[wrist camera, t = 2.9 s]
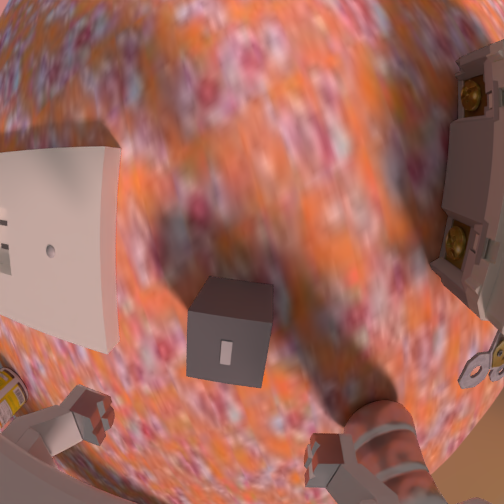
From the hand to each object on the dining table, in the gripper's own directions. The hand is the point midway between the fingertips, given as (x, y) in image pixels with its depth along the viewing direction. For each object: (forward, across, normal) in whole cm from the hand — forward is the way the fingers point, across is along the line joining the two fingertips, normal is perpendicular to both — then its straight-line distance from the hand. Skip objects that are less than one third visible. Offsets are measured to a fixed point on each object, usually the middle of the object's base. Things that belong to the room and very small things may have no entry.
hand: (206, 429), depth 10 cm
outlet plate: (+12, -20, +2) cm, 24 cm away
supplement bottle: (+12, -29, -19) cm, 37 cm away
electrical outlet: (+13, +19, +12) cm, 26 cm away
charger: (+12, 0, -1) cm, 13 cm away
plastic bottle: (+12, +14, -11) cm, 21 cm away
